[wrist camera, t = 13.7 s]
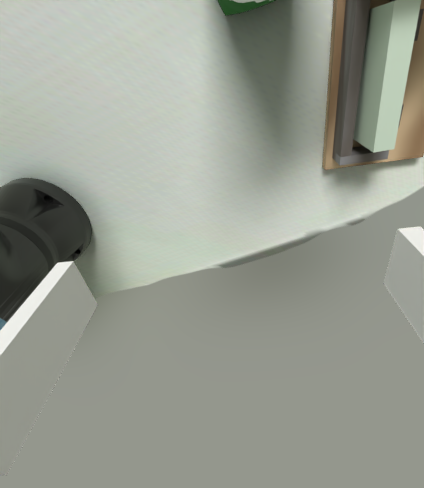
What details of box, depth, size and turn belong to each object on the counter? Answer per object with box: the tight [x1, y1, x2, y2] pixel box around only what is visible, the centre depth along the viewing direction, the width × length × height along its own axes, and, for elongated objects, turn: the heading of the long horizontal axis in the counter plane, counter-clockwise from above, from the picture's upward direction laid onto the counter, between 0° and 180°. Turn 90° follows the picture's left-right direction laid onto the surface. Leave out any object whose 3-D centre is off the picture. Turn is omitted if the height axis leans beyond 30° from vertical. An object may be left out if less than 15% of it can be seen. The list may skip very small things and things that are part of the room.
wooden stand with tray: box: [323, 0, 424, 170], centre depth 26 cm, size 12×20×11 cm, turn 9°
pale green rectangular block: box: [353, 0, 421, 153], centre depth 27 cm, size 3×12×7 cm, turn 10°
